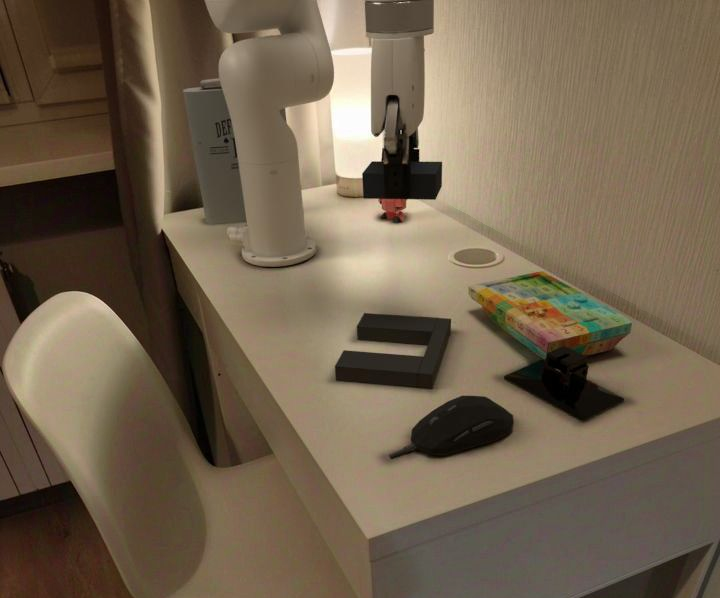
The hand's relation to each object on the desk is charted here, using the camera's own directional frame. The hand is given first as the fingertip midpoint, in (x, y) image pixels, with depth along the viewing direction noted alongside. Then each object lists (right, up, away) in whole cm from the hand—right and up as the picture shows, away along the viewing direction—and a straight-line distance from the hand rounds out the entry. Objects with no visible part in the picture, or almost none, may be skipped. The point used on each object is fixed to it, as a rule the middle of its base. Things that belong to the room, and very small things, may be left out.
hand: (402, 188), depth 90 cm
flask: (-26, +14, +50) cm, 58 cm away
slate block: (0, 0, 0) cm, 0 cm away
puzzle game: (+19, -17, +6) cm, 26 cm away
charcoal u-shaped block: (-1, -20, +3) cm, 21 cm away
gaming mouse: (+4, -32, -12) cm, 35 cm away
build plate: (+18, -26, -5) cm, 32 cm away
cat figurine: (+1, +12, +45) cm, 47 cm away
